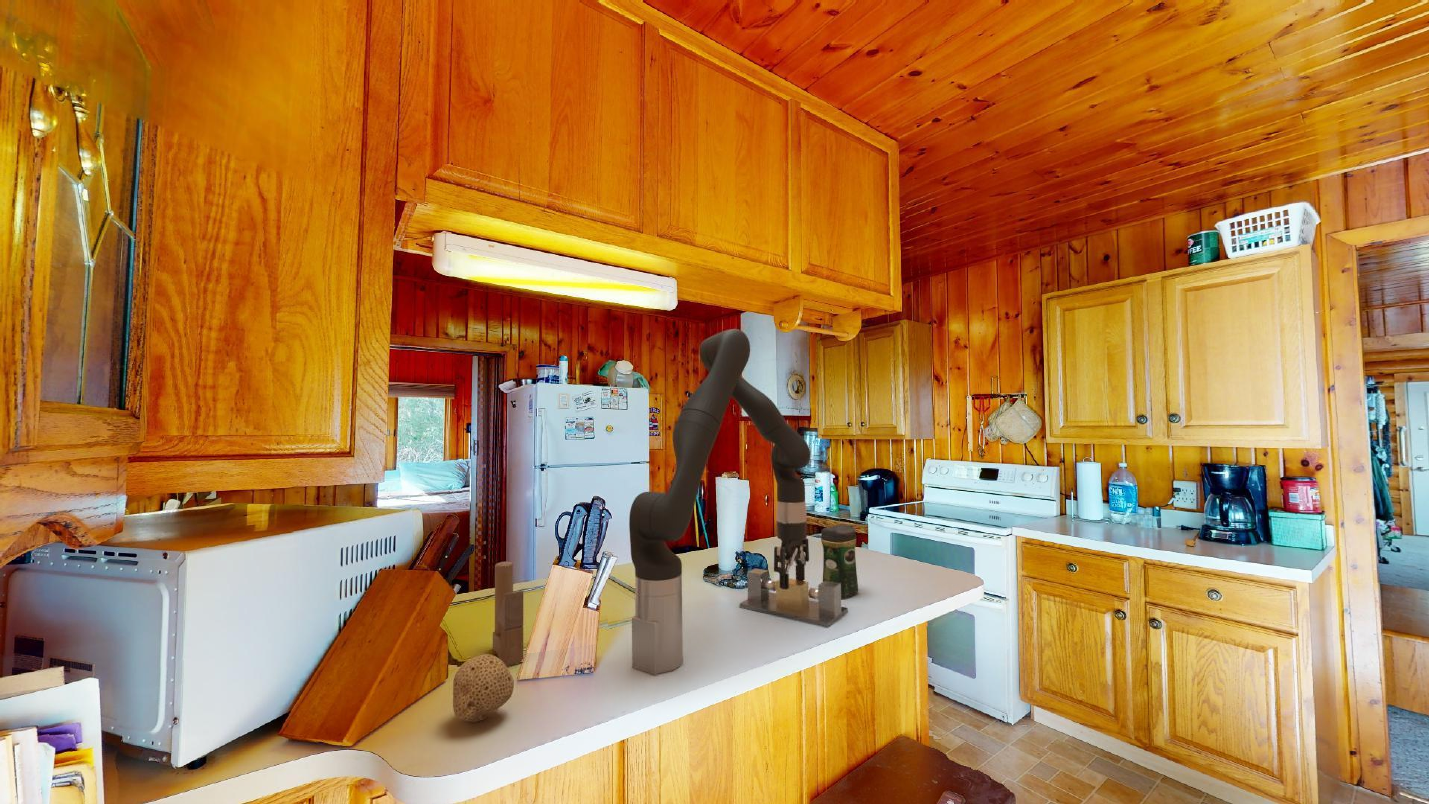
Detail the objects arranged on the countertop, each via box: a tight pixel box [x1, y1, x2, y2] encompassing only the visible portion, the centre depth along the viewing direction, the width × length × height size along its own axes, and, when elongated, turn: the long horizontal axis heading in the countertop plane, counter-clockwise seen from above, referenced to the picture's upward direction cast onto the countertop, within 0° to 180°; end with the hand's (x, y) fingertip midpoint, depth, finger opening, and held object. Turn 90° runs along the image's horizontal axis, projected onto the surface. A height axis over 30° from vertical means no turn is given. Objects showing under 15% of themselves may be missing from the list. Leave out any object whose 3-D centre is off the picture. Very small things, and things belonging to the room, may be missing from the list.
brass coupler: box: [775, 577, 810, 611], centre depth 133 cm, size 4×7×6 cm, turn 55°
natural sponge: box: [452, 653, 515, 723], centre depth 85 cm, size 9×9×10 cm
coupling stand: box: [739, 568, 849, 628], centre depth 133 cm, size 12×24×8 cm, turn 54°
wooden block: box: [492, 561, 524, 668], centre depth 109 cm, size 4×11×18 cm, turn 35°
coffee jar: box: [820, 523, 859, 599], centre depth 145 cm, size 10×8×19 cm
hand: (792, 584), depth 133 cm, fingers open, 8 cm apart
